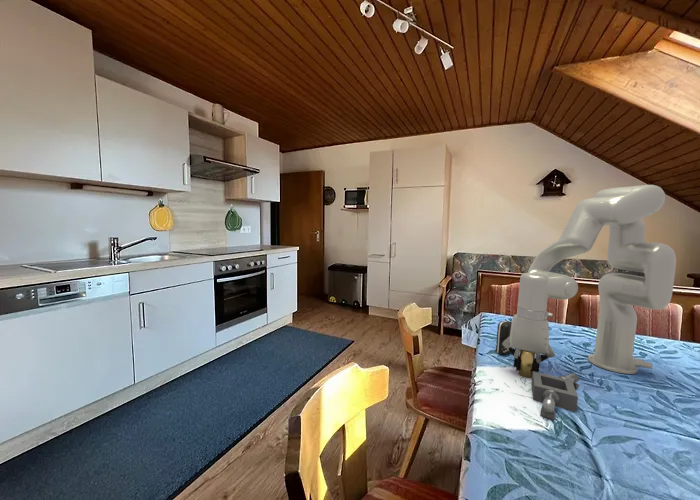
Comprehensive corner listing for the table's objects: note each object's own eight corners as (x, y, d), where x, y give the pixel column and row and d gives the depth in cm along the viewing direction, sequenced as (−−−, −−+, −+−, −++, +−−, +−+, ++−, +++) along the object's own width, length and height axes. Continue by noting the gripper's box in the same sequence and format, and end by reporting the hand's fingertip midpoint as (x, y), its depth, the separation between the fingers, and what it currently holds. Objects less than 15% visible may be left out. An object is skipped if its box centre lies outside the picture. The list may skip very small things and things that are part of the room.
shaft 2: (568, 395, 81) (570, 380, 80) (554, 389, 84) (555, 374, 83) (580, 388, 84) (582, 374, 84) (566, 382, 87) (567, 369, 87)
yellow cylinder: (532, 374, 92) (534, 349, 91) (533, 379, 88) (535, 354, 88) (517, 370, 94) (520, 346, 93) (517, 375, 90) (520, 350, 90)
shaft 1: (541, 402, 77) (543, 386, 76) (558, 408, 75) (560, 392, 74) (538, 415, 71) (539, 398, 71) (555, 422, 69) (557, 405, 69)
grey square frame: (570, 394, 81) (571, 380, 81) (576, 412, 73) (577, 396, 73) (531, 384, 86) (532, 371, 85) (533, 400, 78) (534, 385, 77)
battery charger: (505, 356, 104) (508, 325, 103) (494, 352, 107) (497, 322, 106) (515, 352, 108) (517, 322, 107) (504, 348, 111) (507, 319, 110)
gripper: (563, 315, 89) (556, 374, 90) (500, 306, 97) (496, 359, 98) (566, 322, 82) (560, 385, 84) (499, 311, 90) (494, 369, 92)
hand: (525, 370), depth 91 cm, fingers closed on yellow cylinder, 4 cm apart
